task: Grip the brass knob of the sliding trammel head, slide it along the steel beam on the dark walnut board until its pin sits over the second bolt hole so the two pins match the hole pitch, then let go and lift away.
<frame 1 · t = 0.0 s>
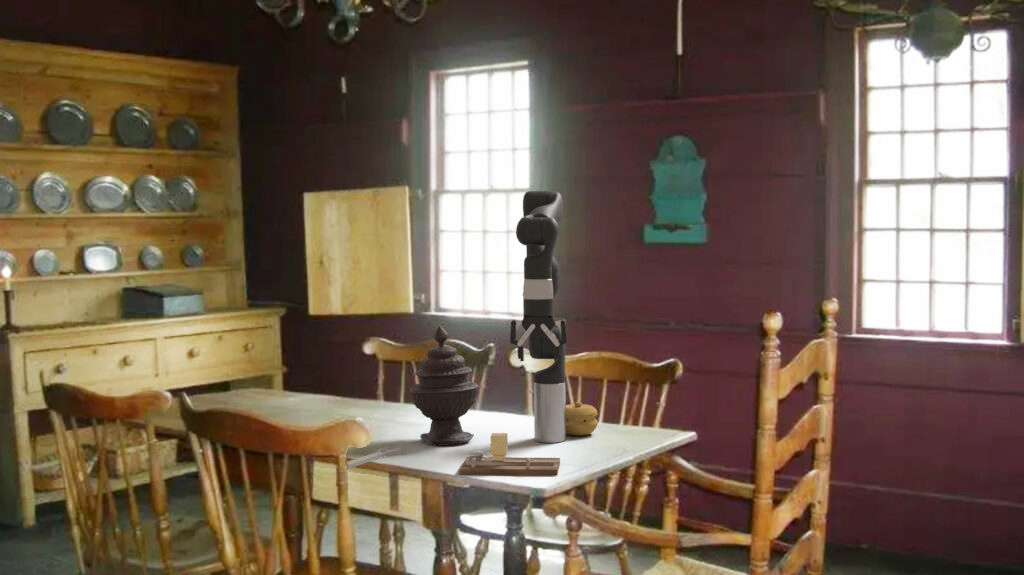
hand: (538, 360, 279), 29 cm above the table, tool pointing down, fingers open, 8 cm apart
pot: (578, 435, 334), on the table
pitch board: (510, 468, 289), on the table
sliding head: (499, 447, 289), point 5 cm above the table, slide at 0.0 cm
adjustable wrench: (368, 461, 302), on the table
decorative urn: (444, 442, 326), on the table
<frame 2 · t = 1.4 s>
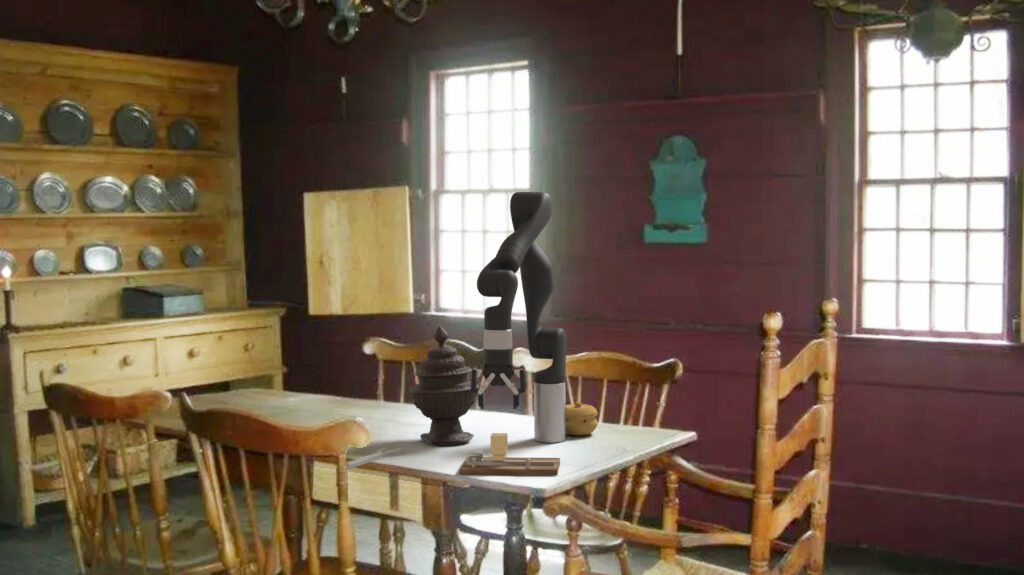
hand: (498, 408, 288), 16 cm above the table, tool pointing down, fingers open, 8 cm apart
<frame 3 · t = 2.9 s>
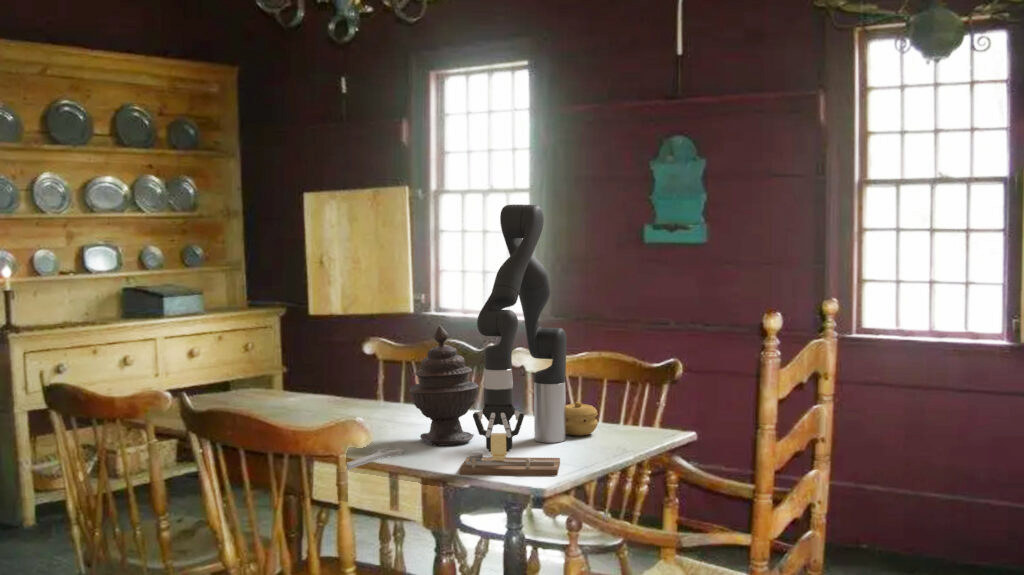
hand: (499, 450, 289), 5 cm above the table, tool pointing down, fingers closed on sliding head, 4 cm apart
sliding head: (499, 447, 289), point 5 cm above the table, slide at 0.0 cm, touching gripper
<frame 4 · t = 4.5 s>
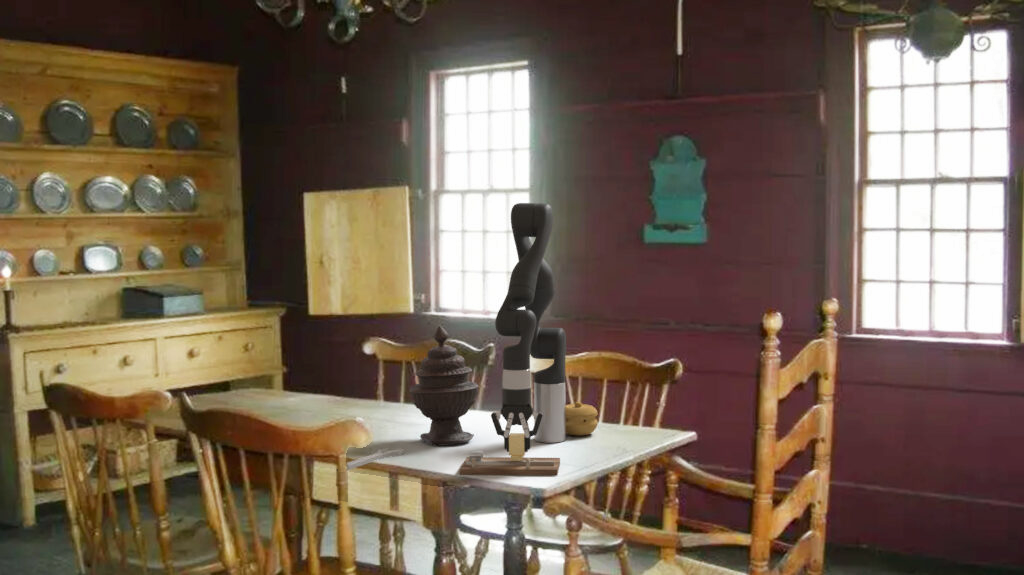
hand: (517, 450, 288), 5 cm above the table, tool pointing down, fingers closed on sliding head, 4 cm apart
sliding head: (517, 448, 288), point 5 cm above the table, slide at 4.8 cm, touching gripper
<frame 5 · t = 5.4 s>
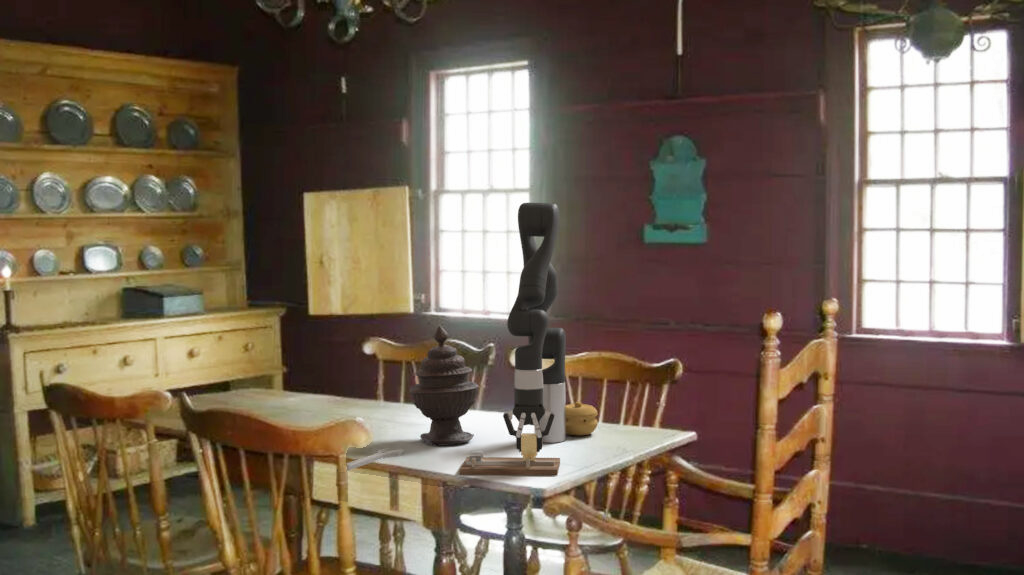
hand: (529, 451, 288), 5 cm above the table, tool pointing down, fingers closed on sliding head, 4 cm apart
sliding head: (529, 448, 288), point 5 cm above the table, slide at 7.9 cm, touching gripper
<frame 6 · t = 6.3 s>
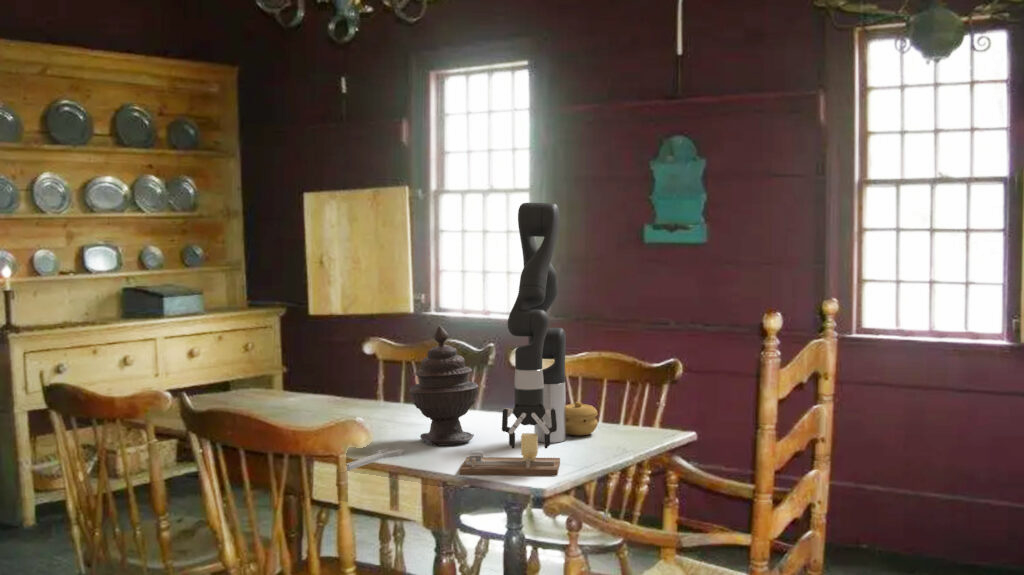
hand: (529, 447, 288), 6 cm above the table, tool pointing down, fingers open, 8 cm apart
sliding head: (529, 448, 288), point 5 cm above the table, slide at 8.0 cm
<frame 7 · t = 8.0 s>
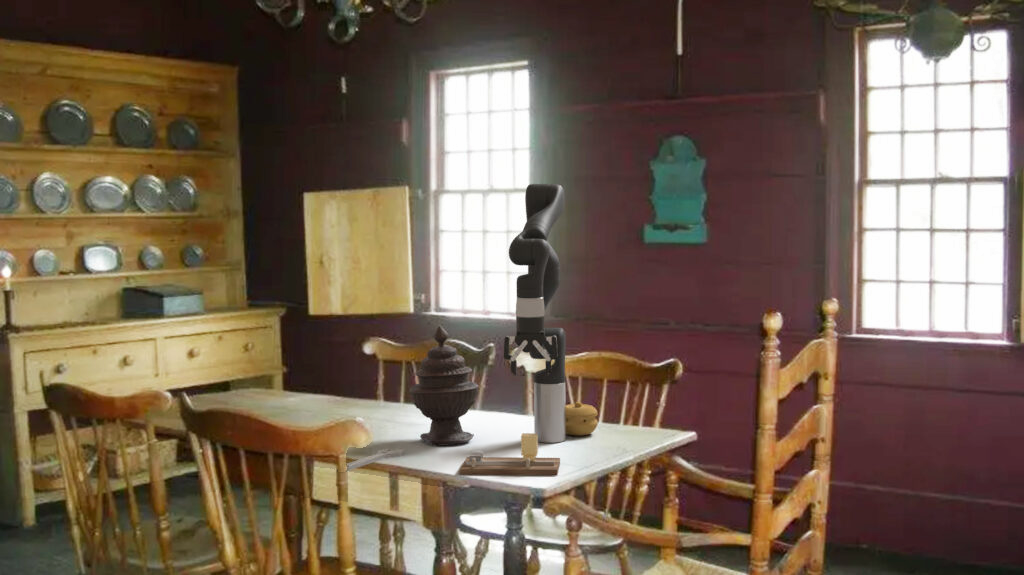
hand: (531, 374, 293), 24 cm above the table, tool pointing down, fingers open, 8 cm apart
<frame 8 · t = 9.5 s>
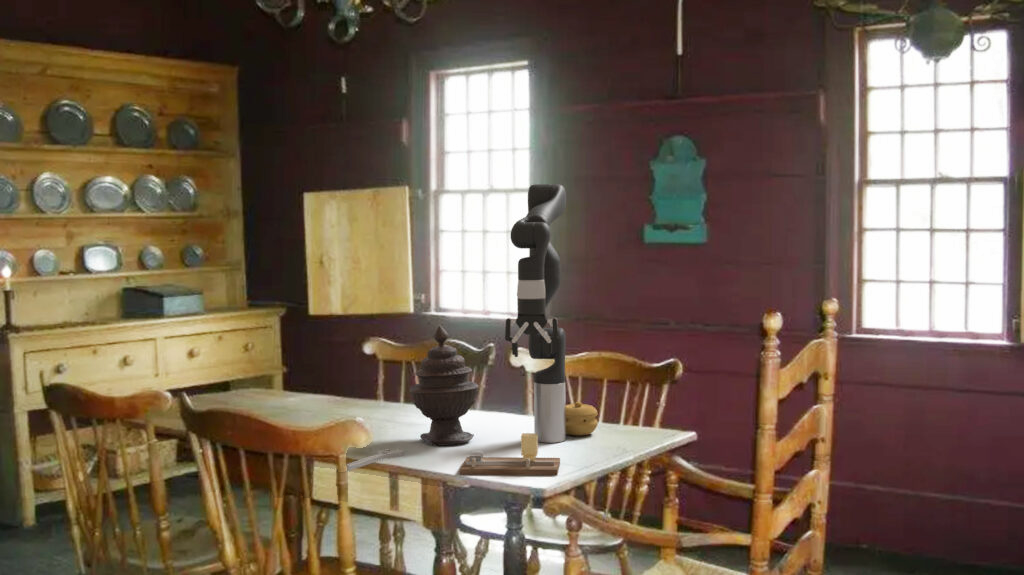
hand: (532, 356, 297), 28 cm above the table, tool pointing down, fingers open, 8 cm apart
at the end: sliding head slide at 8.0 cm; the gripper is holding nothing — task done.
